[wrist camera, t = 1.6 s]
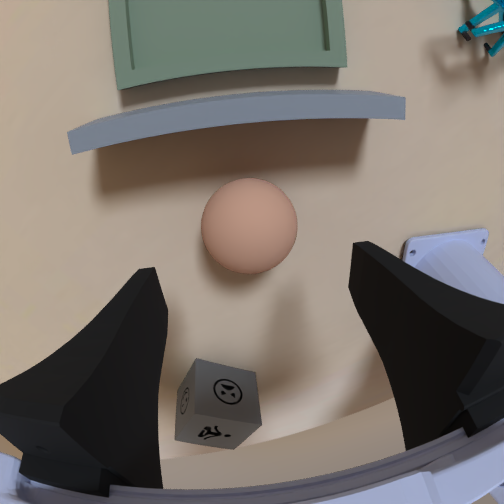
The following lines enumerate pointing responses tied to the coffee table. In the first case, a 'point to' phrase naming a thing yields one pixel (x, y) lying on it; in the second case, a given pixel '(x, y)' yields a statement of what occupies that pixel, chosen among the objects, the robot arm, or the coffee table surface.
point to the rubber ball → (249, 225)
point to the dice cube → (217, 405)
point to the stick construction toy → (487, 26)
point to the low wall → (234, 114)
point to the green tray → (222, 37)
